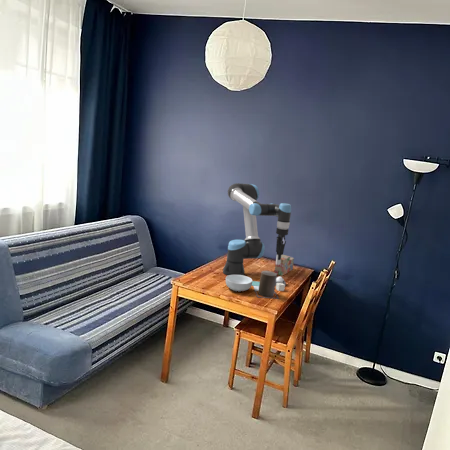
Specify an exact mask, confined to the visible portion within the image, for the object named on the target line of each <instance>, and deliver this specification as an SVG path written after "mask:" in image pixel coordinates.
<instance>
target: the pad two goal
mask: <svg viewBox="0 0 450 450" xmlns="http://www.w3.org/2000/svg"><path fill="white" fill-rule="evenodd" d="M259 284H260V281H256V280H252V286H251V287H253V286H259Z"/></svg>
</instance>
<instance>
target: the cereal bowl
mask: <svg viewBox="0 0 450 450" xmlns="http://www.w3.org/2000/svg"><path fill="white" fill-rule="evenodd" d="M252 281H253V279H252V278H251V277H249V276H246V275H244V276H243V275H226V277H225V284H226V287H227V288H229V289H230V290H232V291H234V292H237V291H238V292H237V293H239V292H240V293H241V291H242V292H244V291H247V290H249V289H250V288H251V287H253V286H252Z"/></svg>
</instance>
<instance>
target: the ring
mask: <svg viewBox="0 0 450 450" xmlns="http://www.w3.org/2000/svg"><path fill="white" fill-rule="evenodd" d="M255 290H256V289H254V288H253V291H254V293H255V294H256V297H257V298H259V299H260V298H261V299H271V297H264V296H259V294H258V292H257V291H255ZM274 295H275V296H276V297H272V299H277V300H279V299H280V298H279V296H278V295H277V292H276V291H275V290H274Z"/></svg>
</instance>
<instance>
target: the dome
mask: <svg viewBox="0 0 450 450" xmlns="http://www.w3.org/2000/svg"><path fill="white" fill-rule="evenodd" d="M283 280H284V281H285V279H284V278H283V276H281V275H278V276H277V277H276V282H283Z"/></svg>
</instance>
